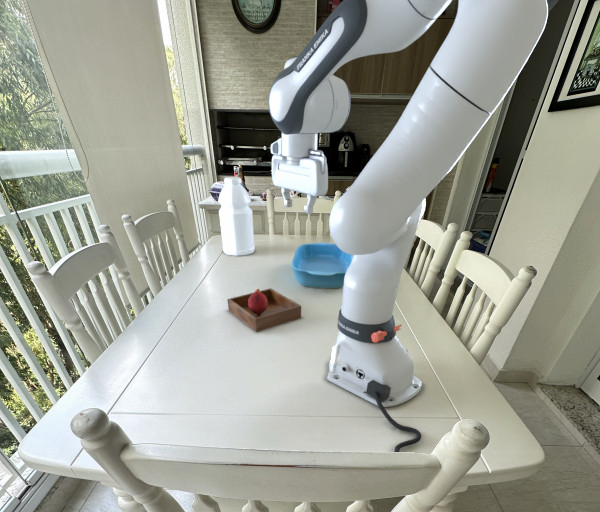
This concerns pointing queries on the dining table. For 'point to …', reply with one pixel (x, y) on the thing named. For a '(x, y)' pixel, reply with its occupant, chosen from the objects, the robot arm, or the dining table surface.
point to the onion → (257, 302)
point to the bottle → (236, 218)
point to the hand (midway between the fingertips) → (298, 210)
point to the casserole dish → (320, 265)
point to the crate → (274, 315)
